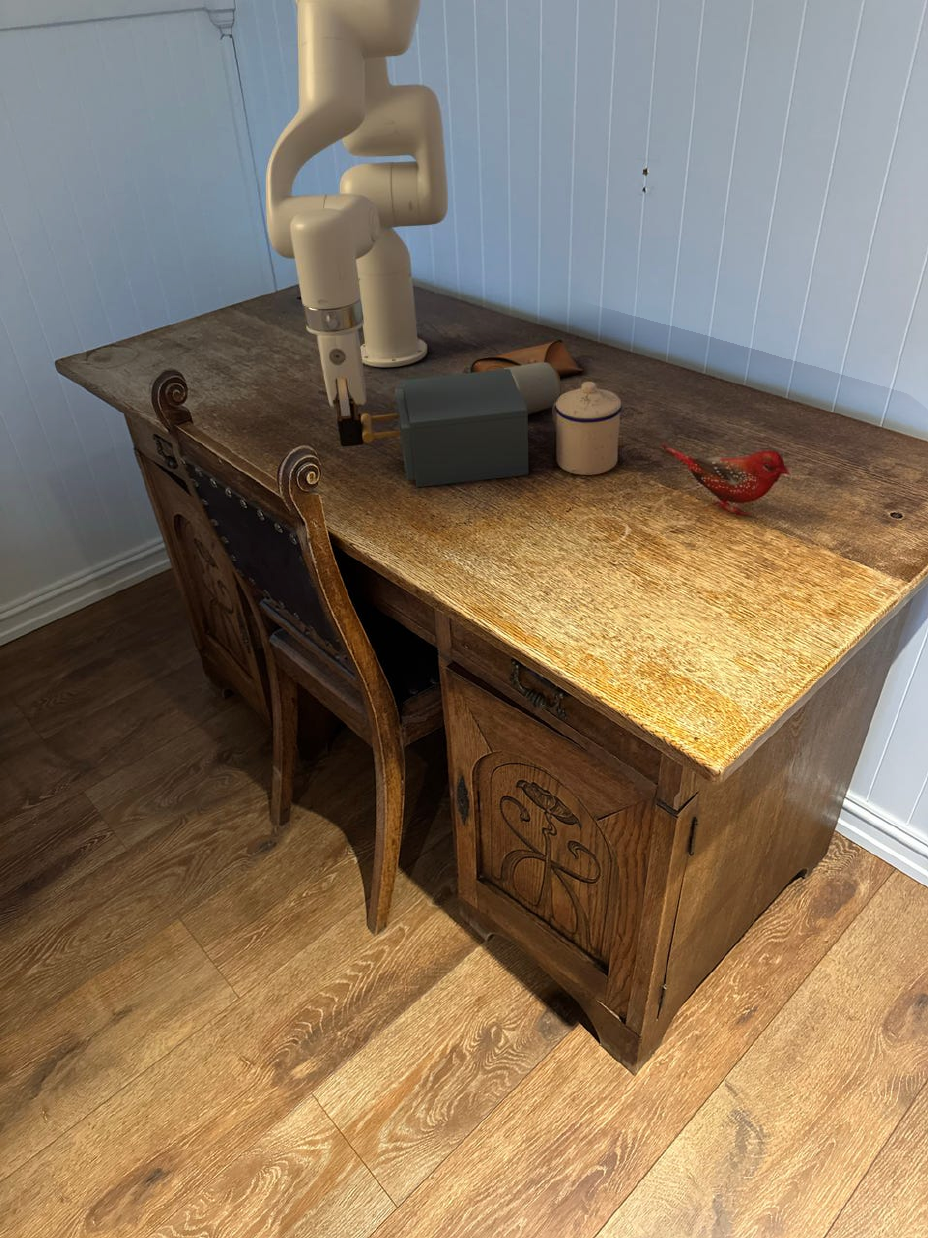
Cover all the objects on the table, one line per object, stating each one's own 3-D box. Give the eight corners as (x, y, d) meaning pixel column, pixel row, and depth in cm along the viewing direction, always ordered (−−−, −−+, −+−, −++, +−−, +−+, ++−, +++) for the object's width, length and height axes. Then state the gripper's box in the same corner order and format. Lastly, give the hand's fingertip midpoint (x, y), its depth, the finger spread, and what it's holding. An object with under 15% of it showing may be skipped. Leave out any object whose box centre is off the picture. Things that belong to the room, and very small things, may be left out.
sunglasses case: (493, 395, 146) (482, 354, 145) (477, 402, 153) (466, 363, 152) (587, 370, 152) (577, 330, 151) (568, 378, 159) (558, 340, 157)
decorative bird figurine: (773, 534, 111) (786, 461, 105) (651, 490, 121) (657, 421, 115) (784, 524, 113) (798, 452, 106) (663, 481, 123) (669, 413, 116)
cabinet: (416, 487, 125) (409, 422, 119) (408, 441, 136) (402, 379, 130) (528, 474, 126) (527, 409, 120) (511, 429, 137) (509, 368, 131)
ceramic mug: (564, 412, 141) (564, 364, 136) (520, 425, 138) (519, 377, 133) (528, 390, 148) (527, 344, 144) (485, 403, 146) (483, 357, 141)
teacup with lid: (632, 463, 127) (637, 385, 120) (582, 483, 123) (584, 404, 116) (578, 433, 135) (579, 358, 128) (529, 452, 131) (528, 376, 124)
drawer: (368, 484, 125) (361, 432, 120) (364, 442, 135) (357, 392, 130) (510, 468, 126) (509, 416, 121) (496, 427, 136) (494, 377, 131)
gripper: (363, 331, 111) (380, 465, 122) (362, 292, 122) (377, 417, 134) (302, 337, 110) (325, 470, 122) (306, 297, 122) (327, 422, 133)
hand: (352, 442), depth 128 cm, fingers closed
